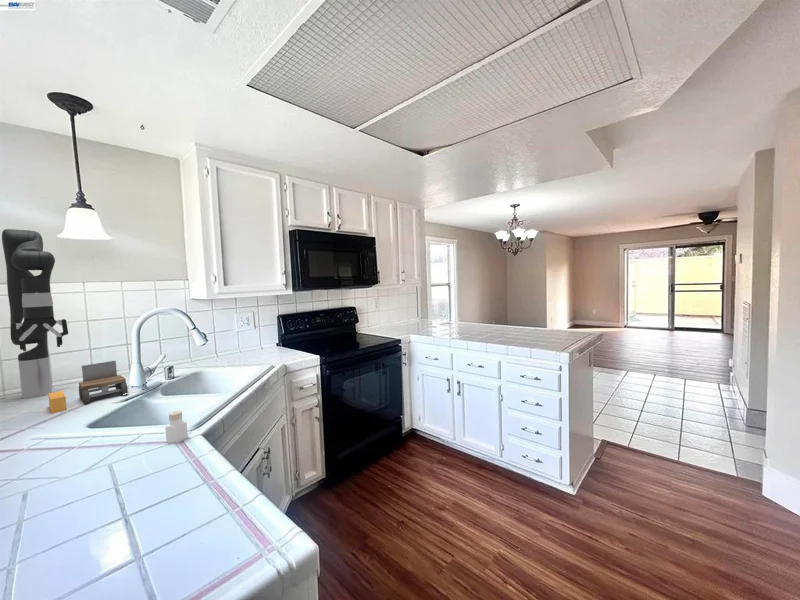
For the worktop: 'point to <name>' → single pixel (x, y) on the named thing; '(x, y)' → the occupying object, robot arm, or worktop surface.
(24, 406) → the worktop surface
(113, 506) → the worktop surface
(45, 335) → the robot arm
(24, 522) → the worktop surface
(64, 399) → the chock
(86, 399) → the bench with backrest
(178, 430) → the pepper shaker
